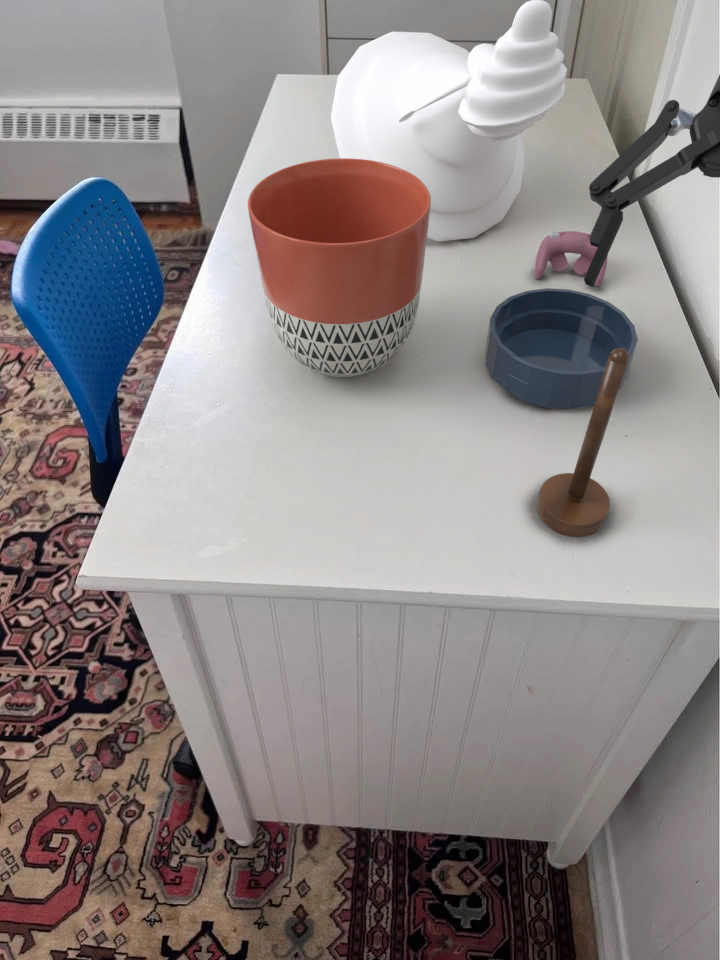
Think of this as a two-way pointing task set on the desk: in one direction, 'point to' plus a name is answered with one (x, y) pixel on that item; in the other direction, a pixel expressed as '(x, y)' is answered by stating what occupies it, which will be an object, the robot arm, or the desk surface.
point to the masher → (584, 467)
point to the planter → (341, 260)
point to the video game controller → (567, 243)
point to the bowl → (555, 346)
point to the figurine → (452, 114)
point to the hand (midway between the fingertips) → (660, 308)
